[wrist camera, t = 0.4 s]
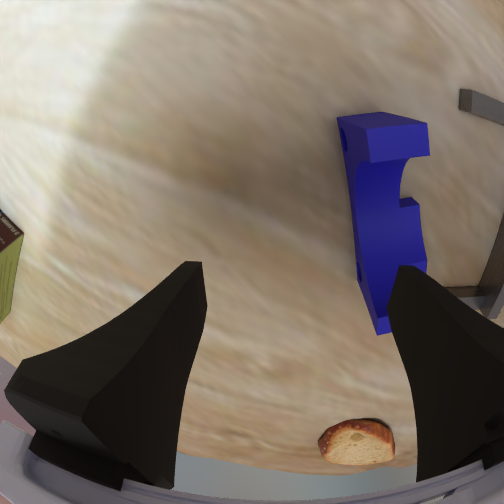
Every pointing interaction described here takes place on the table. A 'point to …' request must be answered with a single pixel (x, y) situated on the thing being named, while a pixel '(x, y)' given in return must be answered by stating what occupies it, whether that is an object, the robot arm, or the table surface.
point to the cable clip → (382, 202)
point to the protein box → (8, 262)
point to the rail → (500, 262)
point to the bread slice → (357, 443)
